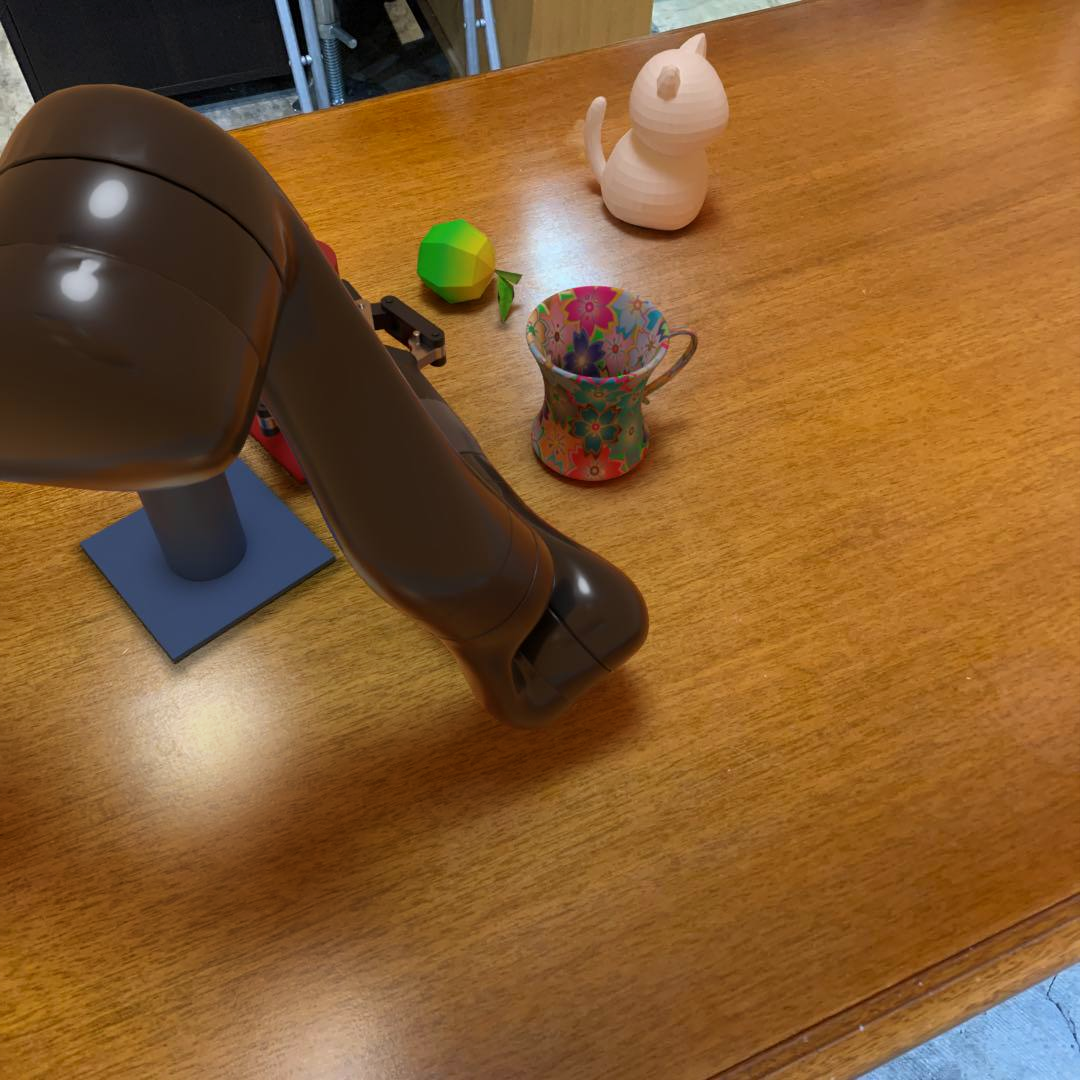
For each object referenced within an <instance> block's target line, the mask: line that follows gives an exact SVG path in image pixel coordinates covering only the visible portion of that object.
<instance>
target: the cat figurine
mask: <svg viewBox="0 0 1080 1080" xmlns="http://www.w3.org/2000/svg"><path fill="white" fill-rule="evenodd" d="M707 43H708V42H707V37H706V35H705V33H704V32H701V33H697V34H695V35H693V36H692V37H690V38H688V39H687V40H686V41H685V42H684V43H683V44H682V45H681V46H679V48H670V49H666V50H664V51H661V52H659V53H656V54H655V55H654V56H652V57H651V58H650V59H648V60H647V62H645V64H644V65H643V66H642V68H641V69H640V71H639V72H638V74H637V76H636V78H635V80H634V82H633V84H632V87H631V92H630V95H629V100H628V119H629V123H630V125H631V128H629V129H628V130H627V132H626V133H625V134H623V136H621V137H620V139H618V141H617V142H616V144H615V145H614V148H613V149H612V151H611V153H610V155H609V157H608V160H606V158H605V155H604V151H603V146H602V127H603V122H604V120H605V119H604V118H605V114H606V111H607V105H608V104H607V99H606V98H605V96H602V95H601V96H597V97H595V98H594V100H593V101H592V102H591V104H590V105H589V108H588V110H587V112H586V116H585V119H584V126H583V127H584V128H583V135H584V137H583V139H584V145H585V146H584V148H585V153H586V158H587V162H588V164H589V168H590V170H591V173H592V175H593V177H594V179H595V180H596V181H597V183H598V184H599V185H600V191H601V196H602V201H603V203H604V205H605V206H606V208H607V210H608V211H609V212H610V214H611V215H612V216H614V217H615V218H616V219H619V220H621V221H623V222H625V223H627V224H631V225H634V226H637V227H643V228H647V229H653V230H659V231H676V230H679V229H682V228H684V227H686V226H688V225H689V224H690V223H692V221H694V220H695V219H696V218H697V216H698V215H699V214H700V211H701V209H702V207H703V205H704V203H705V199H706V196H707V192H708V188H709V178H710V177H709V175H710V174H709V170H710V169H709V168H710V167H709V162H708V156H707V152H706V149H707V148H708V147H710V146H711V145H712V144H714V143H715V142H716V141H717V140H718V139H720V137H721V136H722V135H723V134H724V132H725V131H726V129H727V127H728V125H729V119H730V107H729V106H730V105H729V100H728V97H727V93H726V90H725V88H724V85H723V82H722V80H721V78H720V77H719V74H718V73H717V70H716V69H715V68H714V67H713V65H712V64H711V63H710V62H709V61H708V60H707V46H708V45H707Z"/></svg>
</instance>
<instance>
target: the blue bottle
mask: <svg viewBox="0 0 1080 1080" xmlns="http://www.w3.org/2000/svg"><path fill="white" fill-rule="evenodd" d="M136 493H137V495H138V498H139V500H140V502H141V505H142V507H144V509H145V512H146V514H147V516H148V519H149V521H150V523H151V526H152V528H153V530H154V533H155V535H156V537H157V540H158V542H159V544H160V547H161V549H162V551H163V554H164V556H165V559H166V561H167V563H168V565H169V567H170V568H171V570H172V571H173V572H175V573H176V574H177V575H179V576H181V577H183V578H186V579H190V580H197V581H202V580H210V579H214V578H217V577H220V576H222V575H224V574H226V573H228V572H229V571H231V570H232V569H233V568H234V567H236V566H237V565H238V563H239V562H240V561H241V559H242V558H243V556H244V554H245V551H246V546H247V541H246V536H245V533H244V530H243V527H242V524H241V521H240V518H239V515H238V512H237V508H236V505H235V502H234V499H233V496H232V493H231V490H230V487H229V484H228V481H227V477H226V474H225V471H224V472H223V473H221V474H219V475H218V476H215V477H213V478H211V479H209V480H207V481H204V482H202V483H199V484H196V485H191V486H186V487H181V488H175V489H169V490H158V491H140V492H136Z"/></svg>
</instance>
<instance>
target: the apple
mask: <svg viewBox="0 0 1080 1080" xmlns="http://www.w3.org/2000/svg"><path fill="white" fill-rule="evenodd" d="M416 264H417V265H416V274H417V276H418V277H419V278H420V280H421V281H422V282H423V284H424V285H425V286H426V287H427V288H429V289H430V290H431V291H432V292H434V293H436V294H437V295H438V296H439V297H441V298H442V299H443V300H445V301H446V302H448V304H450V305H451V304H456V303H462V302H467V301H472V300H477V299H480V298H481V297H482V295H483V294H484V293H485V290H486V289H487V287H488V286H489V285H490V283H491V282H492V279H493V277H494V275H495V274H496V275H497V286H496V287H497V289H496V290H497V303H498V306H499V312H500V316H501V320H502V324H504V323H505V320H506V318H507V315H508V313H509V310H510V309H511V306H512V304H513V301H514V299H515V288H514V287H515V286H516V285H519V283H520V280H521V279H522V277H523V274H521V273H517V272H511V271H505V270H501V269H496V249H495V248H494V246H493V243H492V241H491V240H490V239H489V237H488V236H486V235H485V234H484V233H482V232H481V231H480V230H479V229H477V228H476V227H474V226H473V225H472V224H470V223H469V222H467V221H466V220H465V219H464V218H460V219H456V220H451V221H447V222H443V223H442V222H441V223H437V224H433V225H432V226H431V228H430V229H429V230H428V232H427V233H426V234H425V236H424V237H423V238H422V240H421V241H420V242H419V248H418V252H417V263H416ZM514 285H515V286H514Z"/></svg>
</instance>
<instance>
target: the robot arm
mask: <svg viewBox="0 0 1080 1080" xmlns="http://www.w3.org/2000/svg"><path fill="white" fill-rule="evenodd" d="M305 222H306V221H305ZM305 222H304V219H303V217H302V216H301V214H300V212H299V211H298V210H297V209H296V207H295V206H294V204H293V203H292V201H291V200H290V198H289V197H288V196H287V194H286V193H285V192H284V191H283V189H282V188H281V187H280V185H279V183H277V181H276V180H275V179H274V178H273V176H272V175H271V174H270V173H269V171H268V170H267V169H266V168H265V167H264V165H262V163H261V162H260V161H259V160H258V158H256V156H254V155H253V153H252V152H250V151H249V149H247V148H246V147H245V145H244V144H242V143H241V142H240V141H239V140H238V139H236V138H235V137H234V136H233V135H231V134H229V132H227V131H226V130H225V129H223V128H222V127H221V126H219V124H217V123H215V122H214V121H213V120H212V119H210V118H209V117H207V116H205V115H204V114H202V113H200V112H198V111H197V110H195V109H193V108H191V107H189V106H187V105H185V104H184V103H181V102H179V101H178V100H175V99H173V98H170V97H166V96H164V95H160V94H158V93H155V92H152V91H149V90H147V89H143V88H138V87H132V86H128V85H121V84H115V83H107V84H106V83H105V84H103V83H100V84H98V83H97V84H79V85H74V86H71V87H67V88H63V89H58V90H56V91H54V92H52V93H50V94H48V95H46V96H44V97H43V98H41V99H40V100H38V101H36V102H35V103H34V104H33V105H32V106H31V108H29V109H28V111H27V112H26V113H25V115H24V116H23V117H22V118H21V119H20V120H19V121H18V123H17V124H16V126H15V127H14V129H13V131H12V133H11V134H10V136H9V138H8V140H7V142H6V143H5V146H4V147H3V150H2V152H1V154H0V482H3V483H14V484H23V485H32V486H42V487H51V488H52V487H53V488H64V489H74V490H86V491H96V492H97V491H98V492H120V493H121V492H123V493H125V492H128V493H130V492H136V493H137V492H140V491H158V490H169V489H175V488H181V487H186V486H191V485H196V484H199V483H202V482H204V481H207V480H209V479H211V478H213V477H215V476H218V475H219V474H221V473H223V472H224V471H225V470H226V469H227V468H228V467H229V466H230V465H232V464H233V463H234V461H235V460H236V459H237V458H238V457H239V456H240V454H241V452H242V450H243V449H244V446H245V445H246V442H247V440H248V438H249V435H250V430H251V427H252V424H253V421H254V418H255V415H257V419H258V422H259V425H260V429H261V432H262V434H263V435H264V436H266V437H274V436H276V435H278V434H279V432H280V430H281V432H282V433H283V435H284V437H285V439H286V441H287V443H288V445H289V447H290V449H291V451H292V453H293V454H294V456H295V458H296V460H297V462H298V464H299V466H300V468H301V470H302V473H303V475H304V477H305V479H306V483H307V485H308V488H309V490H310V492H311V494H312V496H313V498H314V501H315V503H316V505H317V507H318V510H319V512H320V514H321V516H322V519H323V520H324V522H325V525H326V526H327V528H328V531H329V533H330V534H331V536H332V538H333V540H334V541H335V543H336V544H337V546H338V548H339V549H340V551H341V553H342V554H343V556H344V558H345V559H346V561H347V563H348V564H349V566H350V567H351V568H352V569H353V571H354V572H355V573H356V575H357V576H358V577H359V578H360V580H361V581H362V582H364V584H365V585H366V586H367V587H369V589H370V590H371V591H372V592H373V593H374V594H376V595H377V596H378V597H379V598H380V599H381V600H382V601H384V602H385V603H387V604H388V605H389V606H391V607H392V608H394V609H395V610H397V611H398V612H399V613H401V614H402V615H403V616H405V617H407V618H408V619H409V620H411V621H412V622H414V623H416V624H417V625H418V626H420V627H421V628H422V629H424V630H425V631H427V632H428V633H430V634H431V635H432V636H433V637H435V638H437V640H439V641H440V642H441V643H442V644H443V645H444V647H446V649H447V650H448V651H449V652H450V654H451V655H452V657H453V659H455V660H454V661H456V663H457V667H458V668H459V670H460V672H461V674H462V677H463V678H464V680H465V681H466V683H467V685H468V688H469V689H470V691H471V692H472V694H473V696H474V697H475V698H476V700H477V701H478V703H479V704H480V705H481V707H482V708H483V709H484V710H485V712H487V714H488V715H490V716H491V717H492V718H493V719H494V720H495V721H496V722H498V723H499V724H501V725H503V726H505V727H506V728H510V729H512V730H516V731H521V732H522V731H523V732H530V731H537V730H541V729H545V728H548V727H549V726H551V725H553V724H555V723H556V722H558V721H559V720H560V719H562V718H563V717H564V716H566V715H567V713H569V712H570V711H571V710H573V708H575V707H576V705H578V704H579V703H580V702H582V701H583V700H584V699H585V698H586V697H588V695H590V694H591V693H592V692H593V691H595V689H597V687H599V686H600V685H601V684H602V683H603V682H604V681H606V680H607V679H608V678H609V677H610V676H611V675H612V674H613V672H616V671H617V670H619V669H621V667H622V666H623V665H625V664H626V663H627V662H628V661H629V660H631V659H632V658H633V657H635V655H636V654H637V653H638V652H639V651H640V650H641V649H642V647H643V646H644V644H645V642H646V641H647V638H648V636H649V631H650V615H649V609H648V605H647V602H646V600H645V597H644V595H643V594H642V591H641V590H640V588H639V587H638V586H637V584H636V583H635V582H634V580H633V579H632V578H631V577H630V576H628V574H627V573H625V571H623V570H622V569H621V568H619V566H616V565H615V564H614V563H613V562H611V561H610V560H609V559H607V558H606V557H604V556H603V555H601V554H599V553H597V551H596V552H595V551H594V550H592V549H591V548H589V547H587V546H586V545H584V544H582V543H580V542H579V541H577V540H575V539H573V538H572V537H571V536H569V535H567V534H565V533H564V532H562V531H561V530H559V529H557V528H556V527H555V526H553V524H551V523H549V522H548V521H547V520H545V518H542V517H541V516H540V515H539V514H538V513H537V512H535V511H534V510H533V509H532V508H531V507H530V506H529V505H528V503H526V502H525V501H524V500H523V499H522V497H521V496H520V495H519V494H518V493H517V492H516V491H515V490H514V489H513V488H512V486H511V485H510V484H509V482H508V481H507V480H506V479H505V478H504V477H503V475H502V474H501V473H500V472H499V471H498V469H497V468H496V467H495V465H494V464H493V463H492V462H491V461H490V460H489V458H488V457H487V456H486V454H485V452H484V451H483V449H482V447H481V445H480V443H479V442H478V440H477V439H476V437H475V436H474V435H473V433H472V431H470V428H468V426H467V425H466V424H465V423H464V422H463V421H462V419H461V418H460V417H459V416H458V414H457V413H456V412H455V411H454V410H453V409H452V407H451V406H450V405H449V404H448V403H447V401H446V400H445V398H443V396H442V395H441V394H440V393H439V392H438V391H437V389H436V388H435V387H434V386H433V384H432V383H431V382H430V381H429V380H428V378H427V377H426V376H425V375H424V373H423V372H422V371H421V370H422V369H424V368H425V367H427V366H429V365H430V366H432V367H434V368H441V367H443V366H445V365H447V348H446V347H447V346H446V335H445V331H444V330H443V329H441V328H440V327H439V326H438V325H436V324H435V323H433V322H432V321H430V319H427V317H425V316H423V315H422V314H421V313H419V312H418V311H416V310H415V309H413V308H412V307H411V306H409V305H408V304H406V303H405V302H404V301H402V300H401V299H400V298H398V297H397V296H395V295H390V294H389V295H385V296H382V297H381V299H380V302H370V301H369V300H368V299H364V298H363V297H362V295H361V294H360V293H359V292H358V291H357V289H356V288H355V287H354V286H353V285H352V284H351V282H350V281H348V280H346V279H345V278H341V277H339V276H340V274H339V275H338V274H337V272H336V271H335V269H334V268H333V266H332V264H331V263H330V261H329V260H328V258H327V256H326V255H325V253H324V252H323V250H322V248H321V247H320V245H319V244H318V242H317V240H318V239H317V238H316V237H315V236H314V233H313V232H312V231H311V229H310V227H309V228H308V226H309V225H308V226H307V225H306V223H307V222H306V223H305ZM382 330H384V332H385V333H386V334H388V335H389V336H391V337H392V338H393V339H394V340H396V341H398V343H400V344H402V345H403V346H404V347H406V348H407V349H408V350H406V349H402V348H398V347H395V346H393V345H392V346H391V345H388V344H385V343H384V342H383V341H382V340H381V338H380V337H379V335H378V333H377V332H376V331H382Z"/></svg>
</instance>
